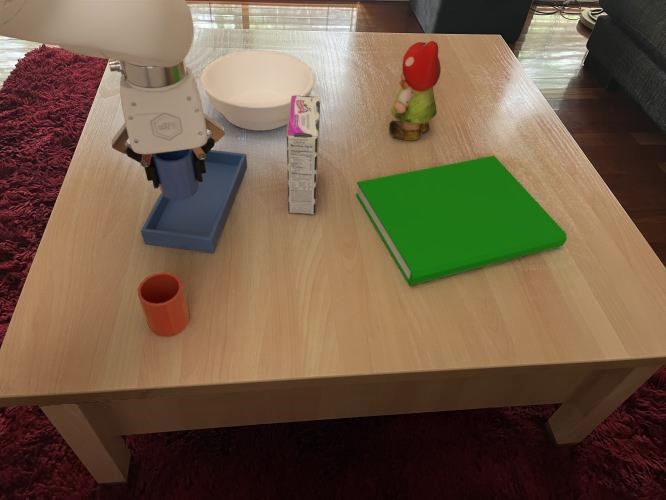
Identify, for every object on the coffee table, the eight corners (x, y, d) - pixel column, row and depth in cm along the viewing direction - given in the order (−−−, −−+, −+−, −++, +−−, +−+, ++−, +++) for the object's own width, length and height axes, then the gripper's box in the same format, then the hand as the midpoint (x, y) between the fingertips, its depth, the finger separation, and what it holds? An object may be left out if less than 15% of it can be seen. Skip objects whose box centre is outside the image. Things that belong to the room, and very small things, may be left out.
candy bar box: (290, 173, 97) (290, 93, 85) (317, 175, 97) (321, 95, 85) (286, 214, 89) (285, 133, 78) (315, 216, 90) (319, 135, 78)
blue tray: (213, 253, 82) (211, 239, 80) (144, 244, 83) (140, 230, 81) (247, 167, 98) (246, 153, 96) (188, 159, 98) (185, 146, 96)
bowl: (329, 133, 107) (331, 96, 101) (219, 153, 100) (215, 115, 94) (293, 79, 121) (293, 43, 115) (195, 93, 114) (190, 56, 108)
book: (355, 194, 94) (357, 181, 92) (489, 168, 102) (494, 155, 100) (410, 288, 80) (413, 275, 78) (561, 248, 88) (568, 235, 85)
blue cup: (192, 202, 78) (185, 164, 72) (155, 197, 78) (145, 159, 73) (203, 178, 81) (197, 141, 76) (168, 174, 82) (159, 136, 76)
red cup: (182, 339, 71) (173, 308, 66) (142, 333, 72) (130, 302, 67) (194, 306, 75) (187, 275, 70) (156, 301, 75) (146, 269, 70)
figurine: (397, 113, 113) (413, 20, 99) (436, 123, 111) (458, 30, 97) (382, 140, 106) (396, 44, 92) (423, 151, 104) (444, 55, 90)
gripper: (80, 88, 61) (118, 204, 74) (229, 74, 65) (240, 186, 78) (81, 57, 65) (116, 172, 79) (220, 46, 70) (231, 156, 83)
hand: (177, 178), depth 78 cm, fingers closed on blue cup, 5 cm apart
